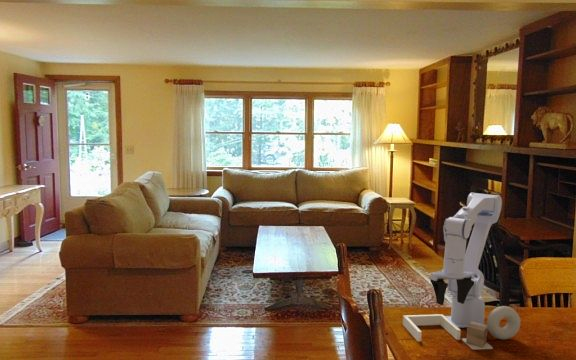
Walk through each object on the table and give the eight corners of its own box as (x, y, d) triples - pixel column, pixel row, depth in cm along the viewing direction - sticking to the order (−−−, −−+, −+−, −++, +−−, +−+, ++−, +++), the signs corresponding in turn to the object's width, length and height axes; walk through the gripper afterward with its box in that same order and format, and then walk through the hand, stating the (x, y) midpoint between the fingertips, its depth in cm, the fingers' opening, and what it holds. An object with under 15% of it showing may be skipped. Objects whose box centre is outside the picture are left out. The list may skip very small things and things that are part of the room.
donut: (514, 335, 135) (516, 303, 134) (521, 341, 132) (524, 308, 131) (483, 336, 134) (485, 304, 133) (489, 342, 131) (492, 309, 130)
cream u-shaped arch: (441, 323, 143) (442, 314, 143) (460, 339, 132) (460, 330, 131) (402, 324, 141) (403, 315, 141) (417, 341, 130) (418, 331, 130)
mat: (480, 339, 132) (480, 337, 132) (492, 348, 127) (492, 347, 126) (461, 339, 132) (461, 338, 132) (472, 349, 126) (472, 348, 126)
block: (470, 337, 132) (471, 321, 132) (486, 342, 130) (487, 325, 129) (466, 343, 129) (467, 326, 128) (482, 347, 126) (483, 330, 126)
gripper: (464, 254, 139) (460, 298, 140) (425, 255, 134) (421, 300, 135) (481, 260, 132) (477, 305, 133) (441, 260, 127) (436, 308, 128)
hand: (450, 303), depth 134 cm, fingers open, 7 cm apart
